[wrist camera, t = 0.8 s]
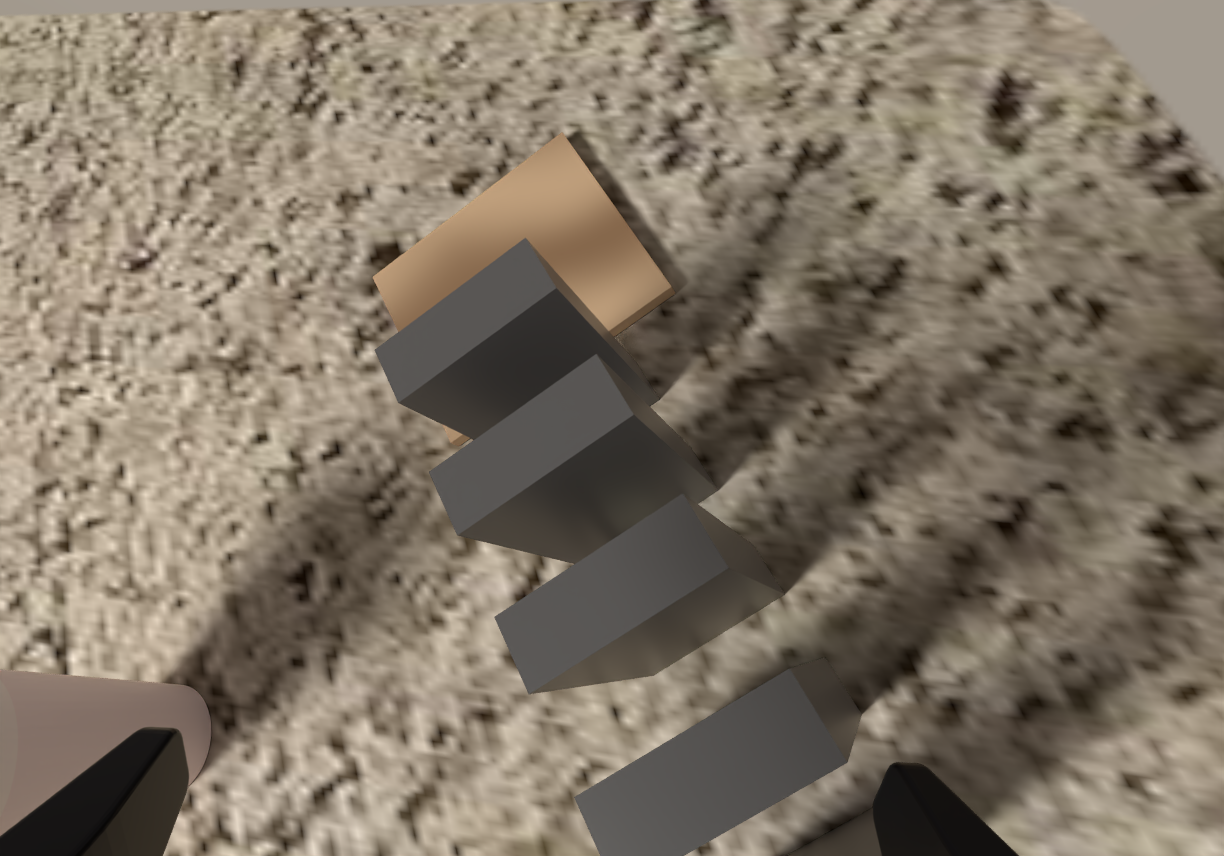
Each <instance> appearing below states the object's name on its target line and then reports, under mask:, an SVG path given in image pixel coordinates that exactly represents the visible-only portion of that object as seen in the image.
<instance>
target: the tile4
mask: <svg viewBox="0 0 1224 856" xmlns="http://www.w3.org/2000/svg"><path fill="white" fill-rule="evenodd" d="M429 473H430V476H431V478H432V480H433V482H434V484H435V487H436V489H437V491H438V493H439V496H440V498H441V500H442V502H443V505H444V507H445V509H446V511H447V513H448V516H449V518H450V520H451V522H452V525H453V527H454V529H455V531H456V534H457V535H458V536H462V537H466V538H470V539H474V540H478V541H483V542H487V543H491V544H495V545H499V546H503V547H507V548H511V549H516V550H520V551H524V552H528V553H532V554H536V555H540V556H544V557H549V558H553V559H557V560H561V561H565V562H569V563H573V564H576V563H577V562H579V561H581V560H582V559H584V558H585V557H587V556H588V555H590V554H591V553H593V552H594V551H596V550H597V549H599V548H600V547H602V546H603V545H605V544H606V543H608V542H609V541H611V540H613V539H614V538H616V537H617V536H619V535H620V534H622V533H623V532H625V531H626V530H628V529H629V528H631V527H632V526H634V525H635V524H637V523H638V522H640V521H641V520H643V519H644V518H646V517H648V516H649V515H651V514H652V513H654V512H655V511H657V510H658V509H660V508H661V507H663V506H664V505H666V504H667V503H669V502H670V501H672V500H673V499H675V498H676V497H678V496H680V495H681V494H685V495H686V496H687V497H689V498H690V499H691V500H693V501H694V502H695V503H697V504H698V503H700V502H701V501H703V500H704V499H706V498H707V497H709V496H711V495H712V494H714V493H715V492H717V491H718V489H717V488H716V486H715V485H714V483H713V481H712V480H711V478H710V477H709V475H708V474H707V472H706V471H705V469H704V467H703V466H702V464H701V463H700V461H699V460H698V458H697V456H696V455H695V453H694V452H693V450H692V449H691V447H690V446H689V445H688V444H687V443H686V442H685V441H684V440H683V439H682V438H681V437H680V436H679V435H678V434H677V433H676V432H675V431H674V430H673V429H672V428H671V427H670V426H669V425H668V424H667V423H666V422H665V421H664V420H663V419H662V418H661V417H660V416H659V415H658V414H657V413H656V412H655V411H654V410H653V409H652V408H651V407H649V406H648V405H647V404H646V403H645V402H644V401H643V400H642V399H641V398H640V397H639V396H638V395H637V394H636V393H635V392H634V391H633V390H632V389H631V388H630V387H629V386H628V385H627V384H626V383H625V382H624V381H623V380H622V379H621V378H620V377H619V376H618V375H617V374H616V373H615V372H614V371H613V370H612V369H611V368H610V367H609V366H608V365H607V364H606V363H605V362H604V361H603V360H602V359H601V358H600V357H599V356H598V355H597V354H595V355H594V356H593V357H591V358H590V359H588V360H587V361H586V362H584V363H583V364H581V365H580V366H578V367H577V368H576V369H574V370H573V371H571V372H570V373H568V374H567V375H566V376H564V377H563V378H561V379H560V380H559V381H557V382H556V383H554V384H553V385H551V386H550V387H549V388H547V389H546V390H544V391H543V392H542V393H540V394H539V395H537V396H536V397H534V398H533V399H532V400H530V401H529V402H527V403H526V404H525V405H523V406H522V407H520V408H519V409H517V410H516V411H515V412H513V413H512V414H510V415H509V416H508V417H506V418H505V419H503V420H502V421H500V422H499V423H498V424H496V425H495V426H493V427H492V428H491V429H489V430H488V431H486V432H485V433H483V434H482V435H481V436H479V437H478V438H476V439H475V440H474V441H472V442H471V443H469V444H468V445H466V446H465V447H464V448H462V449H461V450H459V451H458V452H456V453H455V454H454V455H452V456H451V457H449V458H448V459H447V460H445V461H444V462H442V463H441V464H439V465H438V466H437V467H435V468H434V469H432V470H431V471H430V472H429Z"/></svg>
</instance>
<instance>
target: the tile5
mask: <svg viewBox="0 0 1224 856" xmlns="http://www.w3.org/2000/svg"><path fill="white" fill-rule="evenodd" d="M375 352H376V354H377V356H378V359H379V361H380V363H381V365H382V367H383V370H384V372H385V374H386V376H387V379H388V381H389V383H390V385H391V388H392V390H393V392H394V394H395V396H396V399H397V401H398V403H400V404H402V405H404V406H406V407H408V408H410V409H412V410H414V411H416V412H418V413H420V414H422V415H424V416H426V417H428V418H430V419H432V420H434V421H436V422H439V423H441V424H443V425H445V426H447V427H449V428H451V429H453V430H455V431H457V432H459V433H461V434H463V435H465V436H467V437H469V438H471V439H473V440H475V439H476V438H478V437H479V436H481V435H482V434H483V433H485V432H486V431H488V430H489V429H491V428H492V427H493V426H495V425H496V424H498V423H499V422H500V421H502V420H503V419H505V418H506V417H508V416H509V415H510V414H512V413H513V412H515V411H516V410H517V409H519V408H520V407H522V406H523V405H525V404H526V403H527V402H529V401H530V400H532V399H533V398H534V397H536V396H537V395H539V394H540V393H542V392H543V391H544V390H546V389H547V388H549V387H550V386H551V385H553V384H554V383H556V382H557V381H559V380H560V379H561V378H563V377H564V376H566V375H567V374H568V373H570V372H571V371H573V370H574V369H576V368H577V367H578V366H580V365H581V364H583V363H584V362H586V361H587V360H588V359H590V358H591V357H593V356H594V355H595V354H597V355H598V356H599V357H600V358H601V359H602V360H603V361H604V362H605V363H606V364H607V365H608V366H609V367H610V368H611V369H612V370H613V371H614V372H615V373H616V374H617V375H618V376H619V377H620V378H621V379H622V380H623V381H624V382H625V383H626V384H627V385H628V386H629V387H630V388H631V389H632V390H633V391H634V392H635V393H636V394H637V395H638V396H639V397H640V398H641V399H642V400H643V401H644V402H645V403H646V404H647V405H648V406H649V407H650V406H651V405H653V404H654V403H656V402H657V401H658V400H660V399H659V397H658V396H657V394H656V392H655V391H654V389H653V388H652V386H651V385H650V383H649V382H648V380H647V378H646V377H645V375H644V374H643V372H642V371H641V369H640V368H639V366H638V364H637V363H636V361H635V360H634V359H633V358H632V357H631V356H630V355H629V353H628V352H627V351H626V350H625V349H624V348H623V347H622V346H621V344H620V343H619V342H618V341H617V340H616V339H615V338H614V337H613V335H612V334H611V333H610V332H609V331H608V330H607V329H606V328H605V326H604V325H603V324H602V323H601V322H600V321H599V320H598V319H597V317H596V316H595V315H594V314H593V313H592V312H591V311H590V310H589V308H588V307H587V306H586V305H585V304H584V303H583V302H582V301H581V299H580V298H579V297H578V296H577V295H576V294H575V293H574V292H573V290H572V289H571V288H570V287H569V286H568V285H567V284H566V283H565V281H564V280H563V279H562V278H561V277H560V276H559V275H558V274H557V272H556V271H555V270H554V269H553V268H552V267H551V266H550V265H549V263H548V262H547V261H546V260H545V259H544V258H543V257H542V256H541V254H540V253H539V252H538V251H537V250H536V249H535V248H534V247H533V245H532V244H531V243H530V242H529V241H528V240H527V239H526V238H524V239H523V240H521V241H520V242H519V243H517V244H516V245H515V246H513V247H512V248H511V249H509V250H508V251H507V252H505V253H504V254H503V255H501V256H500V257H499V258H497V259H496V260H495V261H493V262H492V263H491V264H489V265H488V266H487V267H485V268H484V269H483V270H481V271H480V272H479V273H477V274H476V275H475V276H473V277H472V278H471V279H469V280H468V281H467V282H465V283H464V284H462V285H461V286H460V287H458V288H457V289H456V290H454V291H453V292H452V293H450V294H449V295H448V296H446V297H445V298H444V299H442V300H441V301H440V302H438V303H437V304H436V305H434V306H433V307H432V308H430V309H429V310H428V311H426V312H425V313H424V314H422V315H421V316H420V317H418V318H417V319H416V320H414V321H413V322H412V323H410V324H409V325H407V326H406V327H405V328H403V329H402V330H401V331H399V332H398V333H397V334H395V335H394V336H393V337H391V338H390V339H389V340H387V341H386V342H385V343H383V344H382V345H381V346H379V347H378V348H377V349H375Z"/></svg>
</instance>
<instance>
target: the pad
mask: <svg viewBox="0 0 1224 856" xmlns="http://www.w3.org/2000/svg"><path fill="white" fill-rule="evenodd" d="M524 238H526V239H527V240H528V241H529V242H530V243H531V244H532V245H533V247H534V248H535V249H536V250H537V251H538V252H539V253H540V254H541V256H542V257H543V258H544V259H545V260H546V261H547V262H548V263H549V265H550V266H551V267H552V268H553V269H554V270H555V271H556V272H557V274H558V275H559V276H560V277H561V278H562V279H563V280H564V281H565V283H566V284H567V285H568V286H569V287H570V288H571V289H572V290H573V292H574V293H575V294H576V295H577V296H578V297H579V298H580V299H581V301H582V302H583V303H584V304H585V305H586V306H587V307H588V308H589V310H590V311H591V312H592V313H593V314H594V315H595V316H596V317H597V319H598V320H599V321H600V322H601V323H602V324H603V325H604V326H605V328H606V329H607V330H608V331H609V332H610V333H611V334H612V335H613V337H615V336H616V335H617V334H619V333H620V332H622V331H623V330H624V329H626V328H627V327H629V326H630V325H632V324H633V323H634V322H636V321H637V320H639V319H640V318H641V317H643V316H644V315H646V314H647V313H649V312H650V311H651V310H653V309H654V308H656V307H657V306H658V305H660V304H661V303H663V302H664V301H666V300H667V299H668V298H670V297H671V296H673V295H674V294H675V292H674V290H673V288H672V287H671V285H670V284H669V282H668V281H667V280H666V278H665V277H664V275H663V274H662V272H661V271H660V270H659V268H658V267H657V265H656V264H655V263H654V261H653V260H652V258H651V257H650V255H649V254H648V253H647V251H646V250H645V248H644V247H643V246H642V244H641V243H640V241H639V240H638V239H637V237H636V236H635V234H634V233H633V231H632V230H631V229H630V227H629V226H628V224H627V223H626V222H625V220H624V219H623V217H622V216H621V215H620V213H619V212H618V210H617V209H616V207H615V206H614V205H613V203H612V202H611V200H610V199H609V198H608V196H607V195H606V193H605V192H604V191H603V189H602V188H601V186H600V185H599V183H598V182H597V181H596V179H595V178H594V176H593V175H592V174H591V172H590V171H589V169H588V168H587V166H586V165H585V164H584V162H583V161H582V159H581V158H580V157H579V155H578V154H577V152H576V151H575V150H574V148H573V147H572V145H571V144H570V142H569V141H568V140H567V138H566V137H565V135H564V134H563V133H560V134H559V135H558V136H556V137H555V138H554V139H553V140H551V141H550V142H549V143H547V144H546V145H545V146H543V147H542V148H541V149H540V150H538V151H537V152H536V153H534V154H533V155H532V156H530V157H529V158H528V159H526V160H525V161H524V162H523V163H521V164H520V165H519V166H517V167H516V168H515V169H513V170H512V171H511V172H509V173H508V174H507V175H506V176H504V177H503V178H502V179H500V180H499V181H498V182H496V183H495V184H494V185H492V186H491V187H490V188H489V189H487V190H486V191H485V192H483V193H482V194H481V195H479V196H478V197H477V198H475V199H474V200H473V201H472V202H470V203H469V204H468V205H466V206H465V207H464V208H462V209H461V210H460V211H458V212H457V213H456V214H455V215H453V216H452V217H451V218H449V219H448V220H447V221H445V222H444V223H443V224H441V225H440V226H439V227H438V228H436V229H435V230H434V231H432V232H431V233H430V234H428V235H427V236H426V237H424V238H423V239H422V240H421V241H419V242H418V243H417V244H415V245H414V246H413V247H411V248H410V249H409V250H407V251H406V252H405V253H404V254H402V255H401V256H400V257H398V258H397V259H396V260H394V261H393V262H392V263H390V264H389V265H388V266H387V267H385V268H384V269H383V270H381V271H380V272H379V273H377V274H376V275H375V276H373V279H374V281H375V283H376V285H377V287H378V289H379V292H380V294H381V296H382V298H383V300H384V302H385V304H386V306H387V308H388V311H389V313H390V315H391V317H392V319H393V321H394V323H395V325H396V327H397V330H398V332H399V331H401V330H402V329H403V328H405V327H406V326H407V325H409V324H410V323H412V322H413V321H414V320H416V319H417V318H418V317H420V316H421V315H422V314H424V313H425V312H426V311H428V310H429V309H430V308H432V307H433V306H434V305H436V304H437V303H438V302H440V301H441V300H442V299H444V298H445V297H446V296H448V295H449V294H450V293H452V292H453V291H454V290H456V289H457V288H458V287H460V286H461V285H462V284H464V283H465V282H467V281H468V280H469V279H471V278H472V277H473V276H475V275H476V274H477V273H479V272H480V271H481V270H483V269H484V268H485V267H487V266H488V265H489V264H491V263H492V262H493V261H495V260H496V259H497V258H499V257H500V256H501V255H503V254H504V253H505V252H507V251H508V250H509V249H511V248H512V247H513V246H515V245H516V244H517V243H519V242H520V241H521V240H523V239H524ZM442 425H443V424H442ZM443 427H444V429H445V431H446V433H447V435H448V438H449V440H450V442H451V443H453V444H455V445H457V446H460V445H462V444H463V443H464V442H466V441H467V440H469V439H470V438H469V437H467V436H465V435H463V434H461V433H459V432H457V431H455V430H453V429H451V428H449V427H447V426H445V425H443Z"/></svg>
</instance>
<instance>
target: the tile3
mask: <svg viewBox="0 0 1224 856" xmlns="http://www.w3.org/2000/svg"><path fill="white" fill-rule="evenodd" d="M783 595H785V594H784V592H783V591H782V589H781V588H780V586H779V584H778V583H777V581H776V580H775V578H774V577H773V575H772V574H771V572H770V570H769V569H768V567H767V566H766V564H765V563H764V561H763V559H762V558H761V556H760V555H759V553H758V552H757V550H756V549H755V547H754V545H752V544H751V543H750V542H748V541H747V540H746V539H744V538H743V537H742V536H740V535H739V534H738V533H736V532H735V531H733V530H732V529H731V528H729V527H728V526H727V525H725V524H724V523H723V522H721V521H720V520H719V519H717V518H716V517H714V516H713V515H712V514H710V513H709V512H708V511H706V510H705V509H704V508H702V507H701V506H699V505H698V504H697V503H695V502H694V501H693V500H691V499H690V498H689V497H687V496H686V495H685V494H681V495H680V496H678V497H676V498H675V499H673V500H672V501H670V502H669V503H667V504H666V505H664V506H663V507H661V508H660V509H658V510H657V511H655V512H654V513H652V514H651V515H649V516H648V517H646V518H644V519H643V520H641V521H640V522H638V523H637V524H635V525H634V526H632V527H631V528H629V529H628V530H626V531H625V532H623V533H622V534H620V535H619V536H617V537H616V538H614V539H613V540H611V541H609V542H608V543H606V544H605V545H603V546H602V547H600V548H599V549H597V550H596V551H594V552H593V553H591V554H590V555H588V556H587V557H585V558H584V559H582V560H581V561H579V562H577V563H576V564H574V565H573V566H571V567H570V568H568V569H567V570H565V571H564V572H562V573H561V574H559V575H558V576H556V577H555V578H553V579H552V580H550V581H549V582H547V583H545V584H544V585H542V586H541V587H539V588H538V589H536V590H535V591H533V592H532V593H530V594H529V595H527V596H526V597H524V598H523V599H521V600H520V601H518V602H517V603H515V604H514V605H512V606H510V607H509V608H507V609H506V610H504V611H503V612H501V613H500V614H498V615H497V616H495V620H496V622H497V624H498V626H499V629H500V631H501V633H502V635H503V638H504V640H505V642H506V644H507V647H508V649H509V651H510V653H511V655H512V658H513V660H514V662H515V664H516V667H517V669H518V671H519V673H520V676H521V678H522V680H523V682H524V684H525V687H526V689H527V691H528V693H529V694H534V693H541V692H548V691H554V690H561V689H568V688H574V687H581V686H588V685H594V684H601V683H608V682H614V681H621V680H628V679H634V678H641V677H648V676H654V675H655V674H657V673H658V672H660V671H662V670H663V669H665V668H667V667H668V666H670V665H671V664H673V663H675V662H676V661H678V660H680V659H681V658H683V657H684V656H686V655H688V654H689V653H691V652H693V651H694V650H696V649H697V648H699V647H701V646H702V645H704V644H705V643H707V642H709V641H710V640H712V639H714V638H715V637H717V636H718V635H720V634H722V633H723V632H725V631H727V630H728V629H730V628H731V627H733V626H735V625H736V624H738V623H739V622H741V621H743V620H744V619H746V618H748V617H749V616H751V615H752V614H754V613H756V612H757V611H759V610H761V609H762V608H764V607H765V606H767V605H769V604H770V603H772V602H773V601H775V600H777V599H778V598H780V597H782V596H783Z"/></svg>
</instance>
